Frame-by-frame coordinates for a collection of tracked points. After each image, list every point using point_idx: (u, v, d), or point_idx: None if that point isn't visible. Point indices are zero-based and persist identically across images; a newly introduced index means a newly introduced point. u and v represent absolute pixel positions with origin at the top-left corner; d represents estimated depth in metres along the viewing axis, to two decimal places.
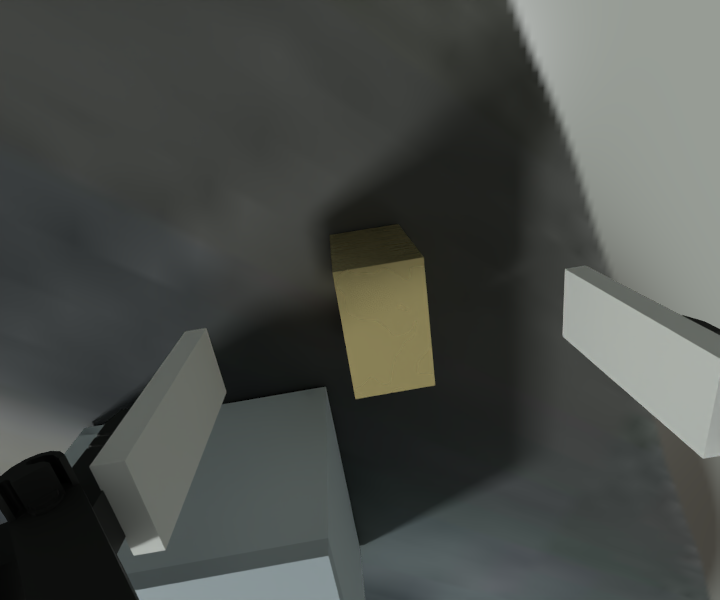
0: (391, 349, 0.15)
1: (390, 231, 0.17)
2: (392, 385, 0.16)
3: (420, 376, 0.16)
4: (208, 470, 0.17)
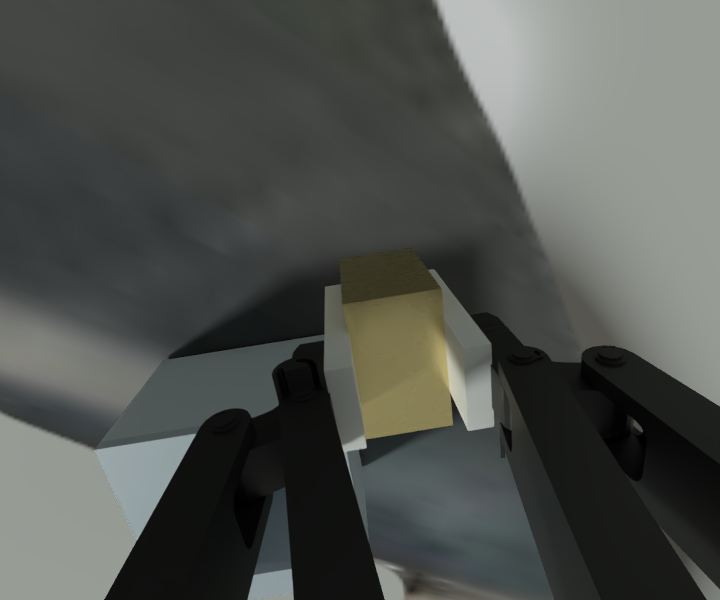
0: (405, 386, 0.14)
1: (404, 256, 0.16)
2: (406, 425, 0.14)
3: (437, 415, 0.14)
4: (257, 377, 0.25)
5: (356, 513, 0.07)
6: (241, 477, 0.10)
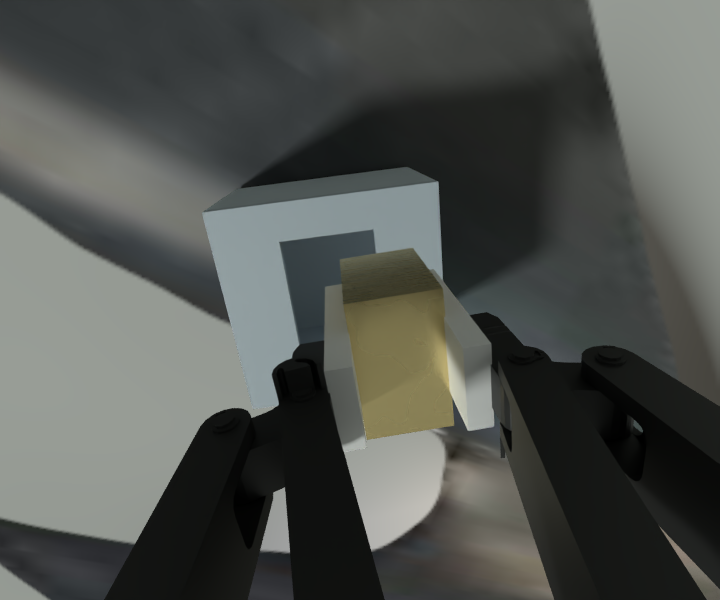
0: (406, 386, 0.14)
1: (404, 256, 0.16)
2: (407, 425, 0.14)
3: (438, 416, 0.14)
4: (342, 182, 0.26)
5: (356, 513, 0.07)
6: (241, 477, 0.10)
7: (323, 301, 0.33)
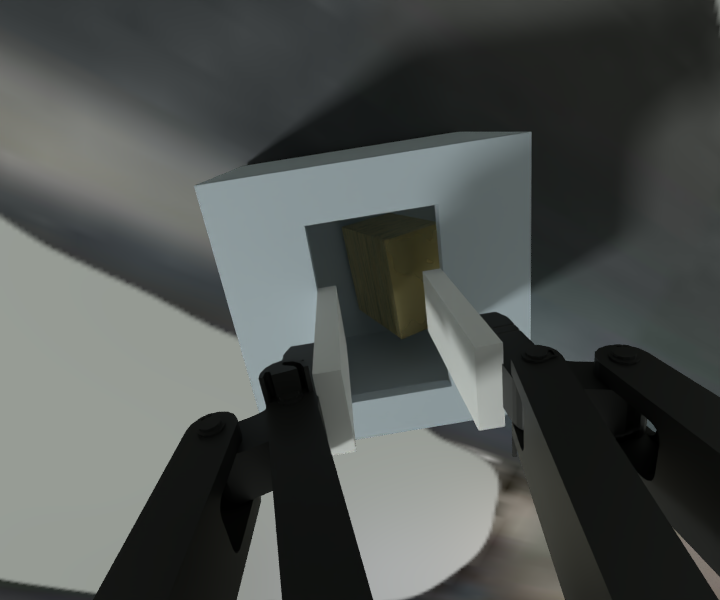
0: (423, 294, 0.20)
1: (390, 216, 0.23)
2: (425, 323, 0.21)
3: None
4: (382, 148, 0.19)
5: (345, 516, 0.07)
6: (227, 481, 0.10)
7: (353, 306, 0.26)
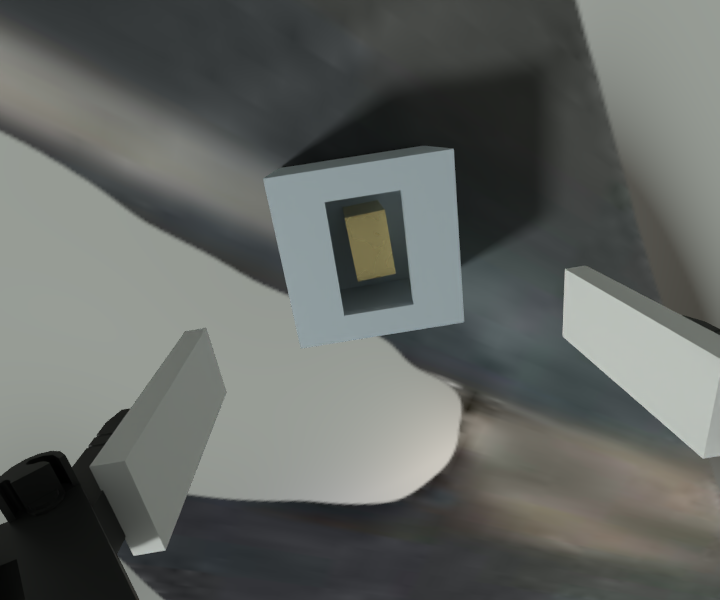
0: (373, 255, 0.32)
1: (372, 203, 0.35)
2: (375, 274, 0.33)
3: (388, 268, 0.33)
4: (371, 157, 0.31)
5: None
6: None
7: (352, 265, 0.38)
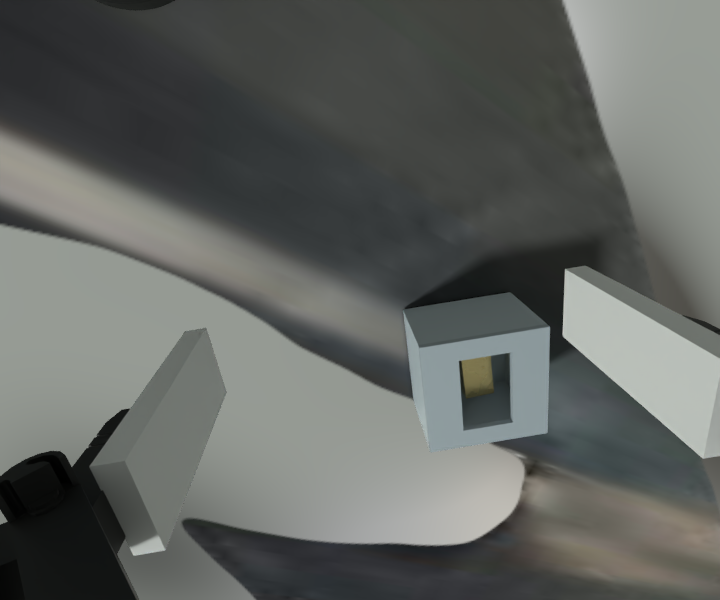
0: (479, 381, 0.44)
1: None
2: (479, 393, 0.45)
3: (488, 389, 0.45)
4: (481, 315, 0.43)
5: None
6: None
7: None
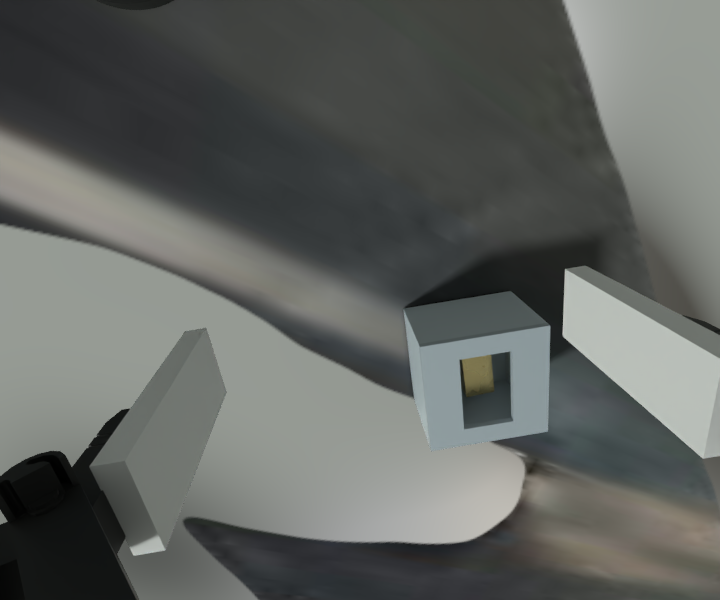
0: (479, 379, 0.44)
1: None
2: (479, 392, 0.45)
3: (489, 388, 0.45)
4: (481, 314, 0.43)
5: None
6: None
7: None
